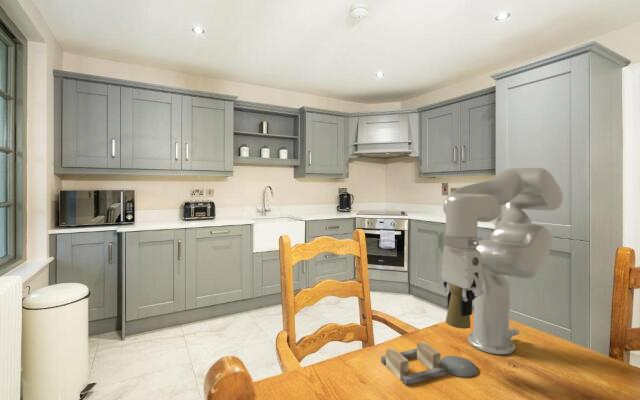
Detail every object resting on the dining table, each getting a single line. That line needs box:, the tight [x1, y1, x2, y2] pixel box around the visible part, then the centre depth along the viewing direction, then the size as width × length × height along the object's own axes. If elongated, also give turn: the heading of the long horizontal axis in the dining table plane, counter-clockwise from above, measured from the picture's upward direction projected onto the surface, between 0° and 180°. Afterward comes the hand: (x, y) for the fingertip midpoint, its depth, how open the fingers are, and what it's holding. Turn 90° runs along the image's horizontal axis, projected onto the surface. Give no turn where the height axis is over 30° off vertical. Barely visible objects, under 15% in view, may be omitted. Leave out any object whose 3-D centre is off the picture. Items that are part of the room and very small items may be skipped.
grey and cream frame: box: [380, 341, 448, 386], centre depth 84 cm, size 12×11×4 cm
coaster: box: [440, 355, 478, 378], centre depth 84 cm, size 9×9×1 cm
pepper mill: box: [445, 284, 471, 330], centre depth 84 cm, size 6×6×11 cm
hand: (459, 311), depth 84 cm, fingers closed on pepper mill, 3 cm apart
